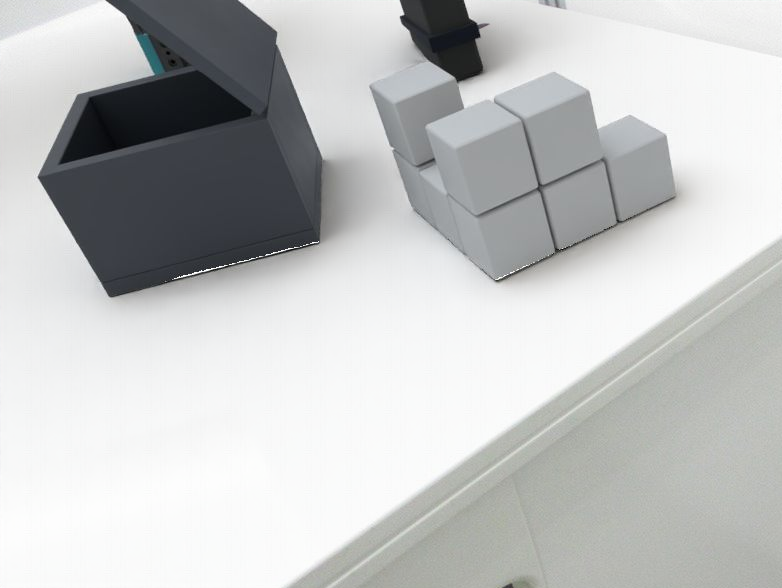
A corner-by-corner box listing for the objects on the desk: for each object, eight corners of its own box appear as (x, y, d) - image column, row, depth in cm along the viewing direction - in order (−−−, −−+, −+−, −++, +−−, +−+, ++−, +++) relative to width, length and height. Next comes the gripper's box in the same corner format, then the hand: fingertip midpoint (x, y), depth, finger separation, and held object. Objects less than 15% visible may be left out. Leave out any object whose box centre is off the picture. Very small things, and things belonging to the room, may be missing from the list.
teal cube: (158, 82, 91) (132, 30, 88) (164, 63, 95) (140, 13, 92) (209, 69, 92) (185, 17, 89) (213, 51, 95) (191, 0, 92)
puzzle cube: (677, 196, 62) (655, 61, 57) (495, 283, 59) (454, 147, 53) (576, 134, 70) (548, 10, 65) (411, 207, 67) (367, 83, 61)
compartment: (109, 297, 65) (36, 177, 60) (137, 206, 74) (76, 94, 69) (319, 243, 66) (266, 118, 60) (323, 158, 74) (277, 43, 69)
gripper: (52, -166, 87) (153, 46, 98) (11, -124, 76) (130, 107, 88) (144, -188, 87) (234, 25, 98) (116, -150, 76) (220, 84, 88)
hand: (184, 63), depth 93 cm, fingers closed on teal cube, 4 cm apart
